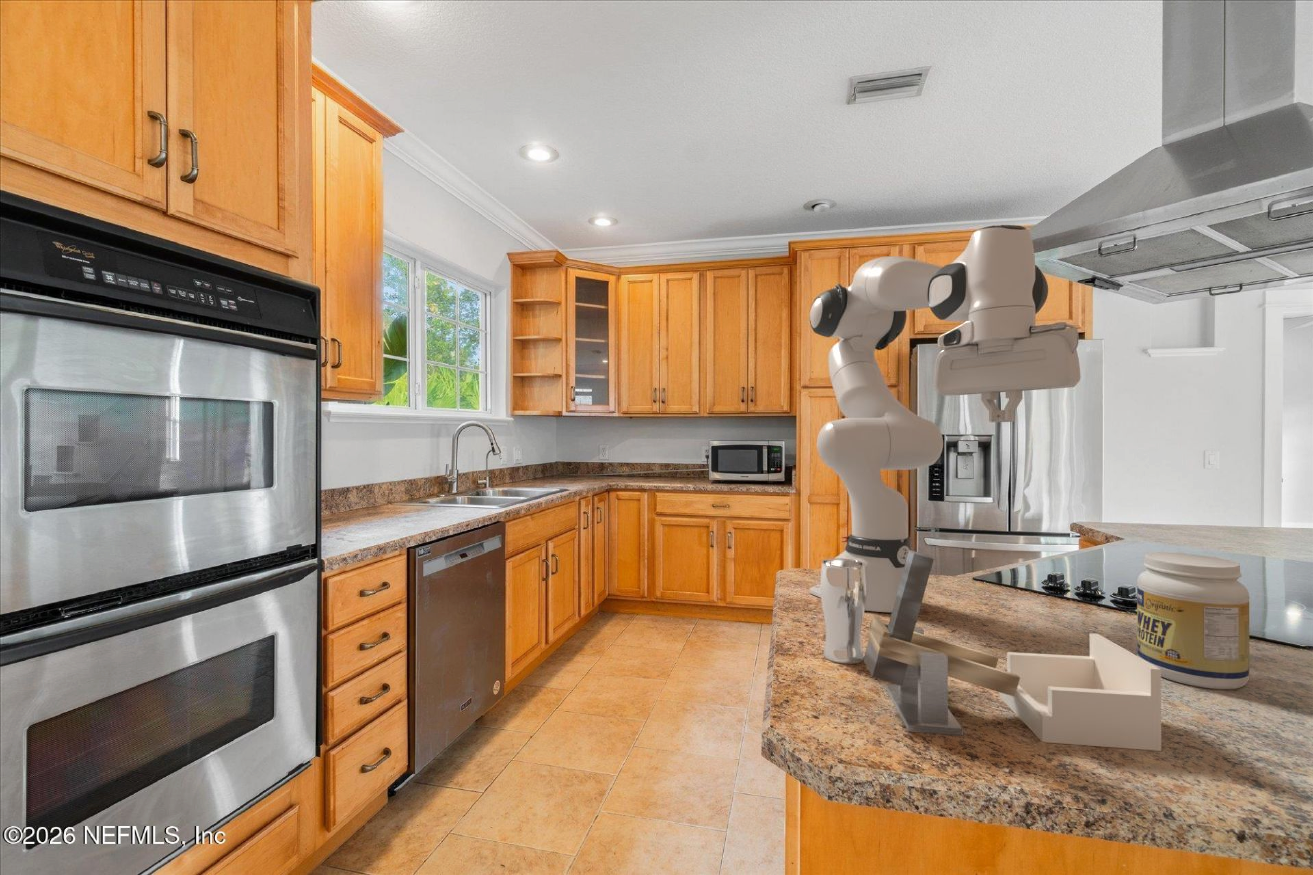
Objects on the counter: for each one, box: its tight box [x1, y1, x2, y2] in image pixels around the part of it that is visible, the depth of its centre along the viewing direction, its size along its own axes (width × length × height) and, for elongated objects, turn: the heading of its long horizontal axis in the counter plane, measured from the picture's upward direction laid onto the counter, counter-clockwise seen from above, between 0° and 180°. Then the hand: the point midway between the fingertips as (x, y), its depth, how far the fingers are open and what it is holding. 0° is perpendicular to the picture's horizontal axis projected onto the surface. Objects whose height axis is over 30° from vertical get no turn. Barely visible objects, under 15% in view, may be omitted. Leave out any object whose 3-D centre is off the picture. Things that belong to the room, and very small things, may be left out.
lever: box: [863, 550, 1020, 697], centre depth 74 cm, size 16×8×16 cm, turn 81°
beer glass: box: [819, 557, 866, 665], centre depth 93 cm, size 7×7×15 cm
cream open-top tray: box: [998, 633, 1162, 752], centre depth 72 cm, size 12×12×9 cm
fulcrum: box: [885, 626, 964, 736], centre depth 75 cm, size 6×12×9 cm, turn 171°
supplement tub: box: [1136, 551, 1251, 690], centre depth 86 cm, size 12×12×17 cm
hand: (1001, 422), depth 90 cm, fingers closed
